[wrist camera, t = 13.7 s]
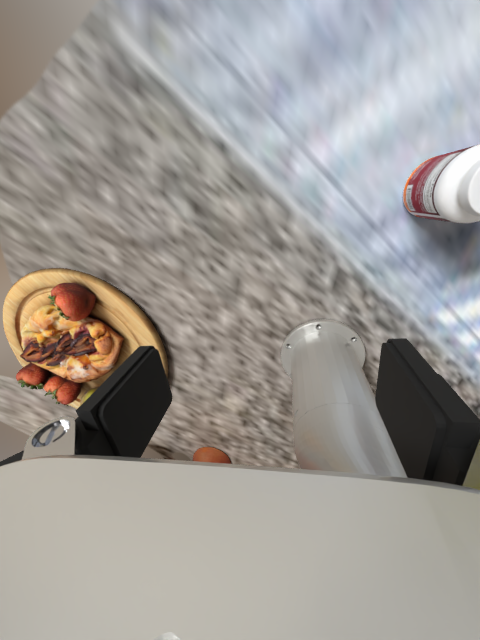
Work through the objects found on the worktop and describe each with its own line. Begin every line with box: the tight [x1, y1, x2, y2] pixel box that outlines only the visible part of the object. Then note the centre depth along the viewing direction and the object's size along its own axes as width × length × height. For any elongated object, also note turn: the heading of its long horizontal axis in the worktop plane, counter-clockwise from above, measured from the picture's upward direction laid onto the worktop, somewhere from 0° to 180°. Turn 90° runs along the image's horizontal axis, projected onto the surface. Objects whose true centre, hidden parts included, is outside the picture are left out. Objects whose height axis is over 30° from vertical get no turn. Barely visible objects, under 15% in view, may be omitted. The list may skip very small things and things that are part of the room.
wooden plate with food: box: [3, 268, 168, 409], centre depth 44 cm, size 32×32×8 cm
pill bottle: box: [403, 144, 480, 223], centre depth 24 cm, size 6×6×11 cm
